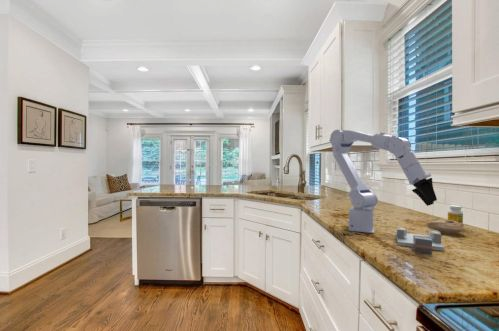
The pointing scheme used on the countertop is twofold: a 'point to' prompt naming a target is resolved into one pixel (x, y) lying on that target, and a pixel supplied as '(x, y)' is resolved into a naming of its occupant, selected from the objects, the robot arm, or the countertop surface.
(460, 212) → the supplement bottle
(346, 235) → the countertop surface
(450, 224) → the pottery oil lamp
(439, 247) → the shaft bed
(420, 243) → the block
